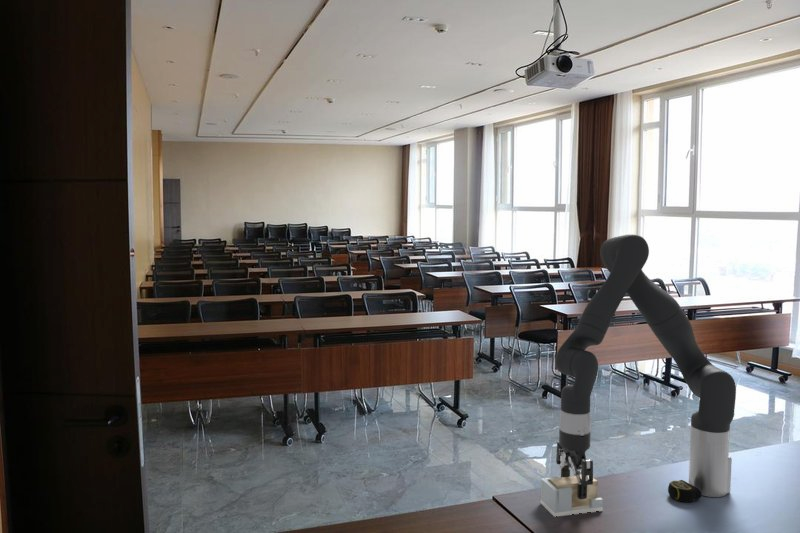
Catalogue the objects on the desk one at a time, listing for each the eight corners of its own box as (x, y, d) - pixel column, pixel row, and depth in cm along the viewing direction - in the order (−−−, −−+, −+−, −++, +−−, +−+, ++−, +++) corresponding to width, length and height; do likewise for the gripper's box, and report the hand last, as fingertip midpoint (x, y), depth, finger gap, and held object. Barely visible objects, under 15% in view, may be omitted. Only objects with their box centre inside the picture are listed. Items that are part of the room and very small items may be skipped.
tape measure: (702, 502, 163) (703, 488, 162) (680, 506, 161) (681, 491, 160) (683, 491, 169) (683, 477, 169) (661, 494, 167) (662, 481, 167)
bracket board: (587, 497, 165) (587, 473, 164) (602, 511, 158) (603, 485, 157) (540, 503, 162) (541, 478, 161) (554, 516, 155) (554, 490, 154)
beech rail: (557, 509, 157) (557, 485, 156) (549, 501, 160) (549, 478, 160) (597, 504, 159) (597, 480, 159) (588, 497, 163) (589, 474, 163)
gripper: (548, 420, 164) (546, 480, 166) (575, 439, 150) (573, 505, 152) (574, 417, 166) (573, 478, 167) (603, 436, 152) (602, 502, 153)
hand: (573, 491), depth 160 cm, fingers open, 8 cm apart
